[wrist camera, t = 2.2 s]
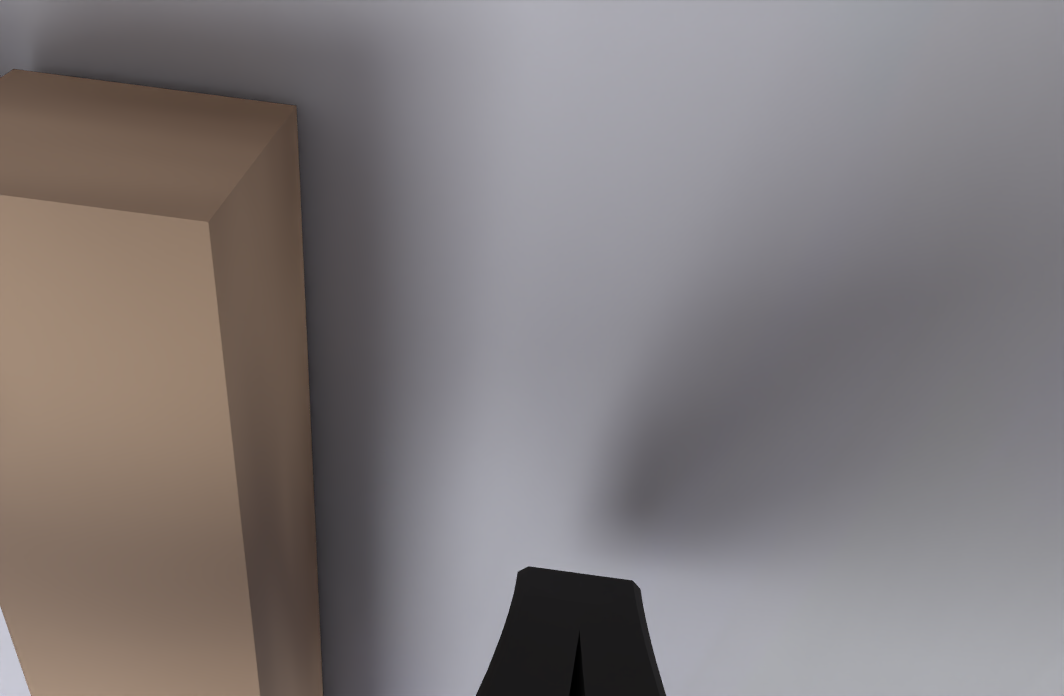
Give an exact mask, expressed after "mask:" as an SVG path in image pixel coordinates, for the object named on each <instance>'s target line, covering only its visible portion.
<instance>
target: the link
mask: <svg viewBox="0 0 1064 696" xmlns="http://www.w3.org/2000/svg"><path fill="white" fill-rule="evenodd" d="M0 606H1V609H2V612H3V615H4V618H5V621H6V624H7V627H8V630H9V633H10V636H11V638H12V641H13V644H14V647H15V650H16V653H17V656H18V659H19V662H20V665H21V668H22V670H23V673H24V676H25V679H26V682H27V685H28V688H29V691H30V694H31V696H323V682H322V660H321V638H320V616H319V594H318V572H317V550H316V527H315V505H314V483H313V461H312V439H311V417H310V395H309V373H308V350H307V328H306V306H305V284H304V262H303V240H302V218H301V196H300V173H299V151H298V129H297V107H296V106H295V105H287V104H279V103H272V102H264V101H256V100H248V99H241V98H233V97H225V96H218V95H210V94H202V93H195V92H187V91H179V90H171V89H164V88H156V87H148V86H141V85H133V84H125V83H118V82H110V81H102V80H94V79H87V78H79V77H71V76H64V75H56V74H48V73H41V72H33V71H25V70H17V69H13V70H11V71H10V72H8V73H7V74H5V75H4V76H2V77H1V78H0Z"/></svg>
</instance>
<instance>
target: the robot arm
mask: <svg viewBox="0 0 1064 696" xmlns="http://www.w3.org/2000/svg"><path fill="white" fill-rule="evenodd" d="M476 696H666V694H665V691H664V687H663V684H662V680H661V677H660V673H659V670H658V666H657V663H656V659H655V656H654V652H653V648H652V644H651V640H650V636H649V632H648V628H647V623H646V618H645V613H644V608H643V603H642V597H641V590H640V588H639V587H638V586H637V585H636V584H635V583H634V581H632V580H624V579H617V578H610V577H602V576H595V575H588V574H580V573H573V572H566V571H558V570H551V569H544V568H536V567H527V568H525V569H523V570H521V571H519V572H518V574H517V580H516V585H515V591H514V595H513V599H512V602H511V606H510V609H509V613H508V616H507V619H506V622H505V625H504V628H503V631H502V634H501V637H500V639H499V642H498V645H497V647H496V650H495V652H494V655H493V657H492V660H491V662H490V665H489V668H488V670H487V672H486V675H485V677H484V679H483V681H482V683H481V686H480V688H479V690H478V692H477V694H476Z"/></svg>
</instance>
